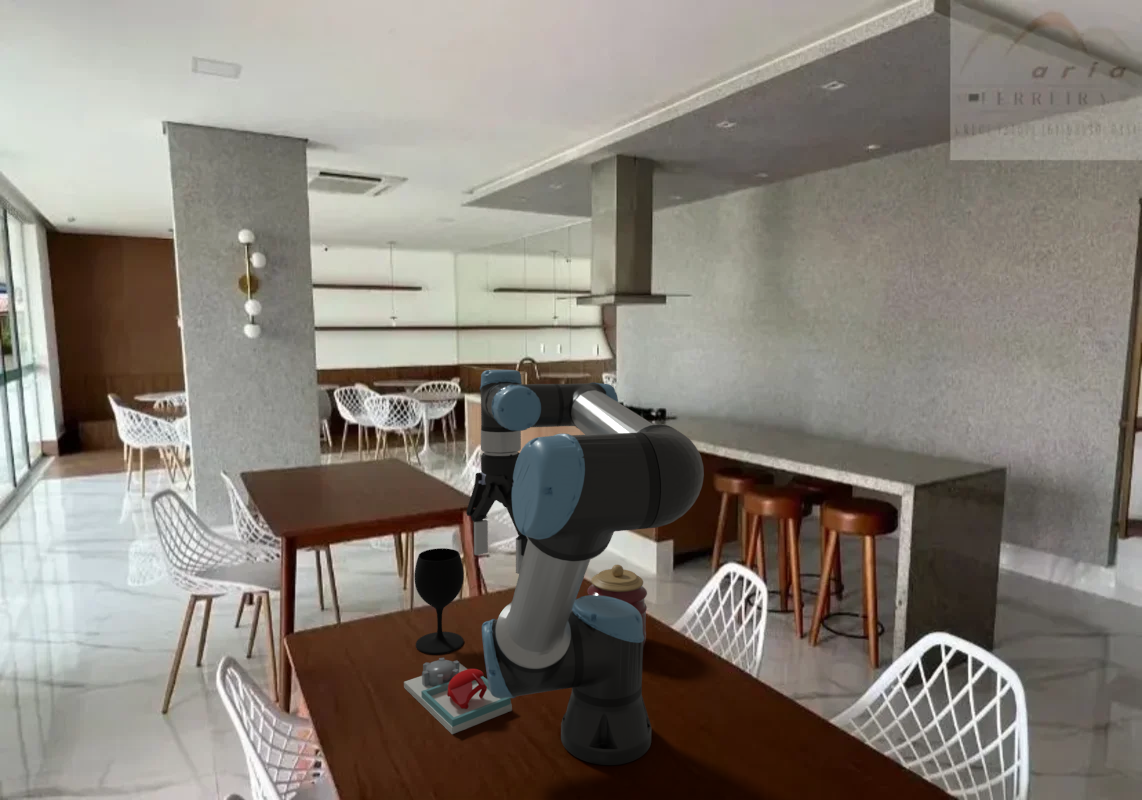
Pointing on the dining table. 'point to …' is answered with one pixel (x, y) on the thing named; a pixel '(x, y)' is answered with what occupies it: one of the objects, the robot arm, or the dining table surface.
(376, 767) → the dining table surface
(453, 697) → the cap
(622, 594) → the canister
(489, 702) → the carrier board
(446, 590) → the wine glass
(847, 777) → the dining table surface
